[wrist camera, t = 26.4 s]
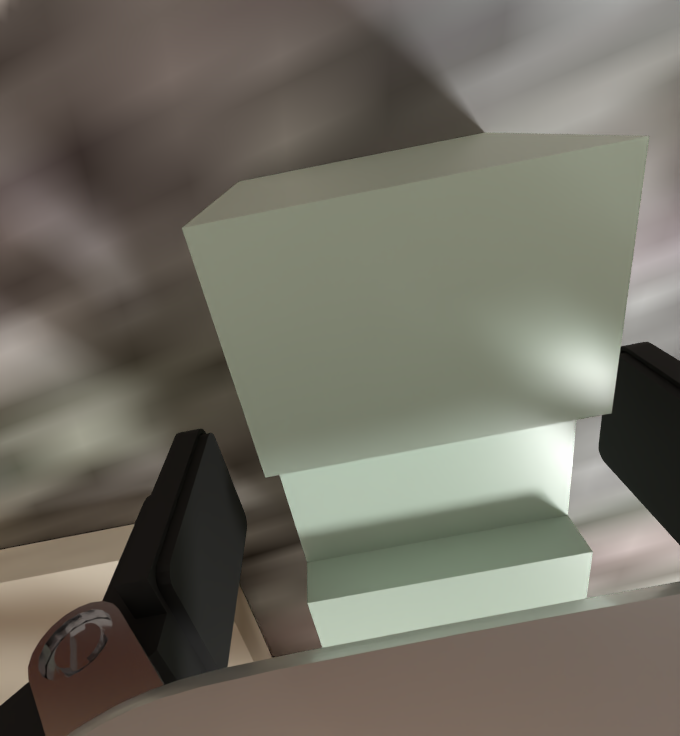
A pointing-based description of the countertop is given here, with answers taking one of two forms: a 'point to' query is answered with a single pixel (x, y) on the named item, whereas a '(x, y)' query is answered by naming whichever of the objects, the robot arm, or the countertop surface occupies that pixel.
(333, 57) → the countertop surface
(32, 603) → the base plate
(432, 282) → the slotted block
